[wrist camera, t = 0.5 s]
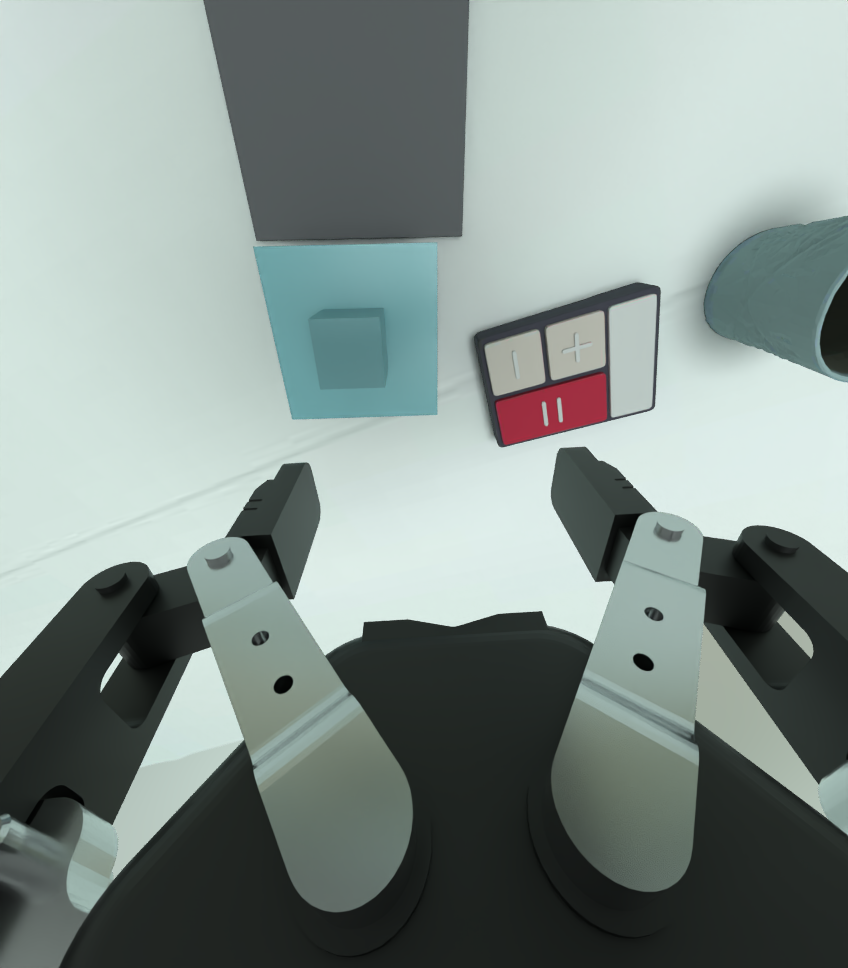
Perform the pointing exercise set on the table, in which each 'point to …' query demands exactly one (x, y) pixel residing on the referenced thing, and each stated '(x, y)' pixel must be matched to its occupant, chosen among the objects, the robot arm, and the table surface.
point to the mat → (346, 114)
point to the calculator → (572, 365)
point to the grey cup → (787, 295)
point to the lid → (354, 327)
